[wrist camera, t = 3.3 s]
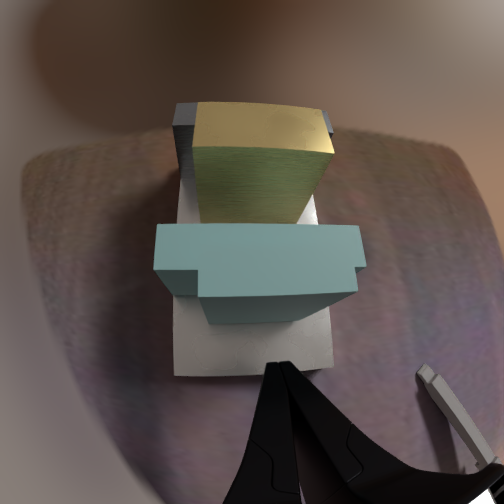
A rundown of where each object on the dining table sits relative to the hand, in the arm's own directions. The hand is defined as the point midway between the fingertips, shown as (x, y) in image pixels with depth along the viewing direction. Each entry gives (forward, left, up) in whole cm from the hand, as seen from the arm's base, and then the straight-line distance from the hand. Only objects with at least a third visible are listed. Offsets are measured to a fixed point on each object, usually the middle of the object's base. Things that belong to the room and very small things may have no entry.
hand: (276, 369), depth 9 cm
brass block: (+10, +2, -6) cm, 11 cm away
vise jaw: (+4, +1, -5) cm, 7 cm away
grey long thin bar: (-7, -20, -8) cm, 22 cm away
